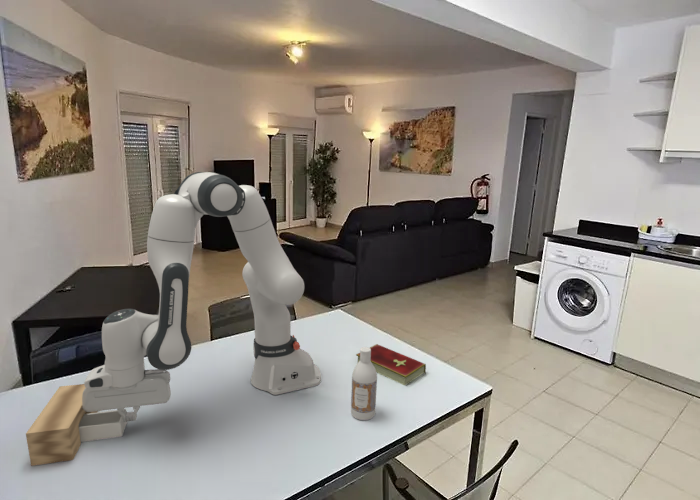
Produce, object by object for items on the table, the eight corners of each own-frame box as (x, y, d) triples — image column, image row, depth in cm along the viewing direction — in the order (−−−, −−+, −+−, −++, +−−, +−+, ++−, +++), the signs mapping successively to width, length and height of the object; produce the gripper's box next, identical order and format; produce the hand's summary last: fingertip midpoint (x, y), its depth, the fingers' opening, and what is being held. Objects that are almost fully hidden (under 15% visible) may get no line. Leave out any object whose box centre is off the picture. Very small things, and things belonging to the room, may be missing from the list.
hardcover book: (377, 353, 157) (377, 342, 156) (425, 374, 143) (426, 362, 142) (355, 364, 148) (356, 353, 147) (405, 387, 135) (405, 375, 134)
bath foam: (347, 418, 118) (349, 352, 113) (354, 404, 124) (357, 341, 120) (371, 423, 116) (374, 356, 111) (377, 409, 122) (380, 345, 118)
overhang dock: (98, 410, 118) (95, 382, 116) (73, 459, 99) (68, 428, 97) (63, 414, 116) (59, 386, 114) (31, 465, 97) (25, 433, 95)
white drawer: (127, 422, 113) (125, 408, 112) (121, 436, 108) (120, 422, 107) (67, 429, 109) (66, 416, 109) (59, 445, 104) (57, 430, 103)
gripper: (171, 362, 113) (174, 407, 116) (85, 370, 108) (91, 418, 111) (167, 374, 107) (171, 421, 110) (76, 383, 102) (83, 433, 105)
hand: (130, 420), depth 111 cm, fingers closed
